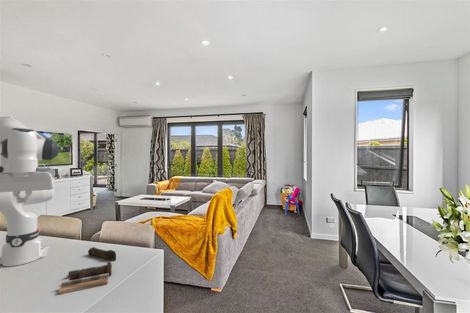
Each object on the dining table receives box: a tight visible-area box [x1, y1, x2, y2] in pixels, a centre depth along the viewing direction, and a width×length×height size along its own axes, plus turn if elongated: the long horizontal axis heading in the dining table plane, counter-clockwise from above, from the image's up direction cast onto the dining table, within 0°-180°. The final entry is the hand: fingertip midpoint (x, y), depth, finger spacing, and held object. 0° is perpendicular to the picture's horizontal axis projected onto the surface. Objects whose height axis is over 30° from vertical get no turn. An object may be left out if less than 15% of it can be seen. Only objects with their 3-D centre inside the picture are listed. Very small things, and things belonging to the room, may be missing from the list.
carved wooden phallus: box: [87, 246, 117, 261], centre depth 112 cm, size 19×4×5 cm, turn 64°
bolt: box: [68, 261, 112, 281], centre depth 93 cm, size 6×5×15 cm
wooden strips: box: [58, 263, 113, 295], centre depth 92 cm, size 16×16×2 cm
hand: (22, 202), depth 86 cm, fingers closed
